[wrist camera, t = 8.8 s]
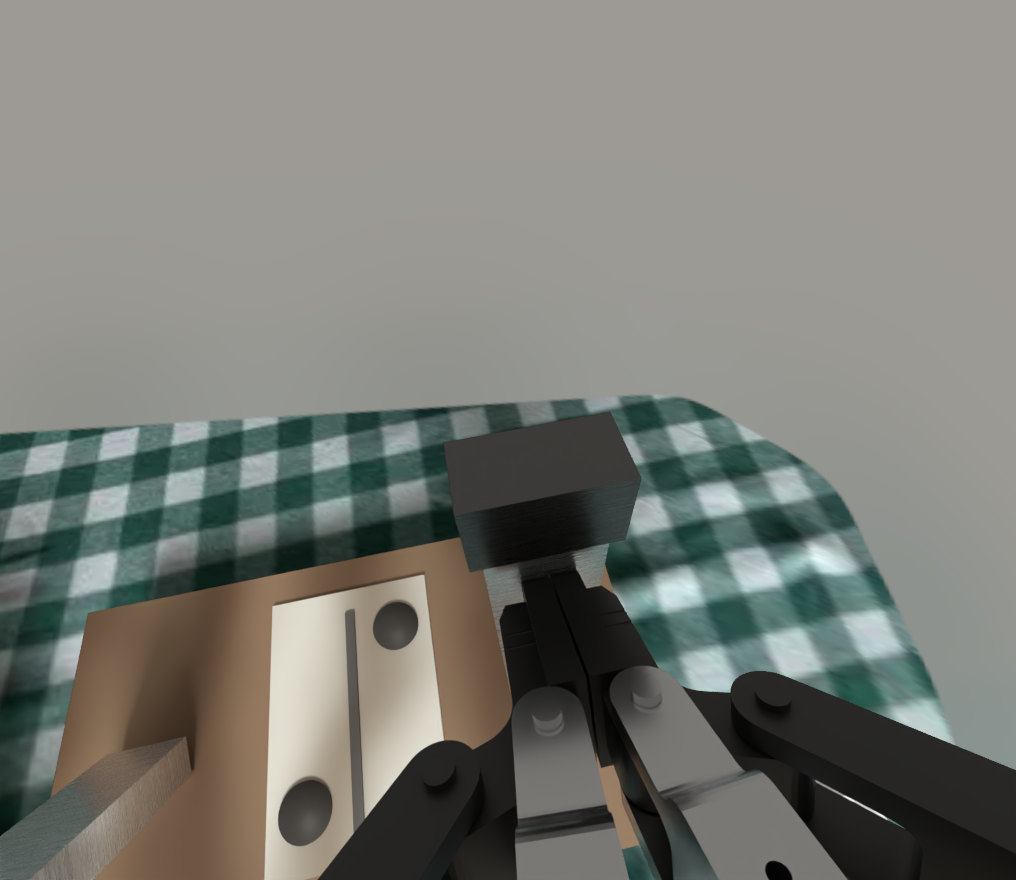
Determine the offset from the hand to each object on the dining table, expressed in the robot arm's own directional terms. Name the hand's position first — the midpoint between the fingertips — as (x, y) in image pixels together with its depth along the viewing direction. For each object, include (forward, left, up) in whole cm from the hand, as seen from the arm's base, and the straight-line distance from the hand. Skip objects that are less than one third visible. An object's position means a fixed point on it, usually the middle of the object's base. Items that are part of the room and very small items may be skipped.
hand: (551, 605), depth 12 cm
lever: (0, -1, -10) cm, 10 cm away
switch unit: (-6, -5, -14) cm, 16 cm away
